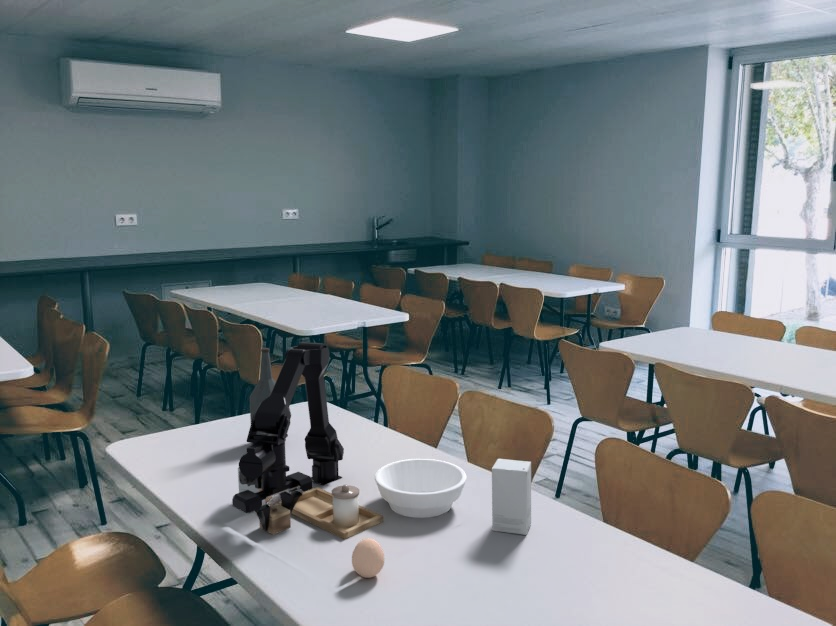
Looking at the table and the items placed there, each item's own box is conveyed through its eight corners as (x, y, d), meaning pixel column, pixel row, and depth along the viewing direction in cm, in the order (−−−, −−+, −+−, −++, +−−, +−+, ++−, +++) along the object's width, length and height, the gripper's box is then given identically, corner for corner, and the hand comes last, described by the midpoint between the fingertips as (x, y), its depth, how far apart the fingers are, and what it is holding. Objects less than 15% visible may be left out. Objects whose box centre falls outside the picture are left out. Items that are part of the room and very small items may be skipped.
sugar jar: (347, 512, 177) (346, 477, 175) (365, 521, 172) (364, 484, 171) (326, 521, 172) (325, 485, 170) (344, 530, 168) (344, 492, 166)
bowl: (479, 497, 187) (479, 466, 186) (444, 535, 167) (445, 501, 166) (399, 482, 197) (399, 452, 195) (358, 517, 176) (357, 484, 175)
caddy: (317, 495, 188) (317, 487, 188) (383, 524, 172) (383, 515, 172) (279, 510, 180) (278, 501, 179) (344, 542, 164) (344, 533, 163)
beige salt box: (277, 523, 173) (276, 502, 172) (290, 530, 170) (290, 509, 169) (259, 530, 169) (259, 509, 168) (273, 538, 166) (272, 516, 165)
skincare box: (531, 524, 172) (533, 461, 170) (526, 537, 166) (528, 471, 164) (496, 519, 175) (497, 456, 172) (490, 531, 169) (491, 467, 166)
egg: (358, 587, 146) (357, 550, 144) (347, 571, 152) (347, 535, 150) (389, 580, 148) (389, 543, 147) (377, 564, 154) (377, 529, 153)
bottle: (259, 437, 231) (255, 344, 226) (289, 438, 230) (286, 345, 224) (247, 449, 221) (243, 351, 216) (278, 450, 220) (275, 352, 214)
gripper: (284, 442, 179) (286, 503, 181) (216, 464, 165) (220, 529, 168) (313, 454, 171) (315, 517, 174) (245, 477, 158) (248, 545, 160)
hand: (275, 526), depth 169 cm, fingers closed on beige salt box, 5 cm apart
